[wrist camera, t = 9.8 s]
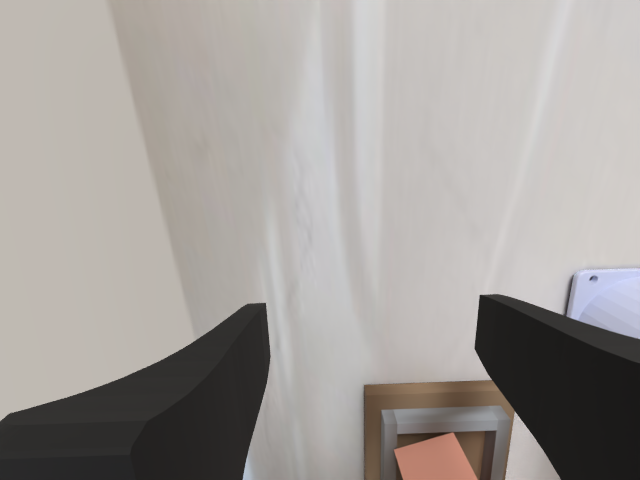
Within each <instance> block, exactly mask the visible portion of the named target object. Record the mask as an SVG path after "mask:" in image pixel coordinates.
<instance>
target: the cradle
mask: <svg viewBox="0 0 640 480" xmlns="http://www.w3.org/2000/svg"><path fill="white" fill-rule="evenodd" d="M514 412H515V410H514V409H513V408H512V406H511V405H510V404H509V402H508V401H507V400H506V398H505V397H504V396H503V394H502V393H501V391H500V390H499V389H498V387H497V386H496V385H495V383H494V382H493V380H487V381H460V382H433V383H406V384H379V385H364V439H365V480H403V478H402V475H401V471H400V468H399V465H398V462H397V458H396V455H395V452H394V449H398V448H401V447H404V446H408V445H411V444H415V443H418V442H422V441H425V440H428V439H432V438H435V437H439V436H442V435H445V434H449V433H452V432H453V433H454V435H455V437H456V439H457V440H458V442H459V444H460V446H461V448H462V450H463V452H464V454H465V456H466V458H467V460H468V462H469V464H470V466H471V467H472V469H473V471H474V473H475V475H476V477H477V479H478V480H505V475H506V468H507V461H508V454H509V447H510V440H511V433H512V426H513V419H514Z"/></svg>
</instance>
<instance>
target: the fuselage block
mask: <svg viewBox="0 0 640 480" xmlns="http://www.w3.org/2000/svg"><path fill="white" fill-rule="evenodd" d="M394 452H395V455H396V458H397V462H398V465H399V468H400V471H401V475H402V478H403V480H478V479H477V477H476V475H475V473H474V471H473V469H472V467H471V466H470V464H469V462H468V460H467V458H466V456H465V454H464V452H463V450H462V448H461V446H460V444H459V442H458V440H457V439H456V437H455V435H454V433H453V432H452V433H449V434H445V435H442V436H439V437H435V438H432V439H428V440H425V441H422V442H418V443H415V444H411V445H408V446H404V447H401V448H398V449H394Z"/></svg>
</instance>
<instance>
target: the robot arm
mask: <svg viewBox="0 0 640 480" xmlns="http://www.w3.org/2000/svg"><path fill="white" fill-rule="evenodd" d="M592 276H593V278H592V279H591V280H589V279H590V277H592ZM475 350H476V352H477V354H478V356H479V358H480V360H481V362H482V364H483V366H484V368H485V369H486V371H487V373H488V375H489V376H490V378H491V379H492V380H493V382H494V383H495V385H496V386H497V387H498V389H499V390H500V391H501V393H502V394H503V396H504V397H505V398H506V400H507V401H508V402H509V404H510V405H511V406H512V408H513V409H514V410H515V412H516V413H517V414H518V416H519V417H520V419H521V420H522V421H523V423H524V424H525V425H526V427H527V428H528V429H529V431H530V432H531V433H532V435H533V436H534V437H535V439H536V440H537V442H538V443H539V445H540V446H541V448H542V449H543V451H544V452H545V454H546V455H547V457H548V459H549V460H550V462H551V464H552V465H553V467H554V469H555V470H556V472H557V474H558V475H559V477H560V478H561V480H640V268H625V269H598V270H581V271H578V272H577V273H576V274H575V275H574V277H573V282H572V288H571V293H570V299H569V305H568V310H567V316H563V315H560V314H558V313H555V312H552V311H549V310H546V309H544V308H541V307H538V306H535V305H532V304H530V303H527V302H524V301H521V300H518V299H515V298H511V297H508V296H504V295H499V294H494V295H480V299H479V309H478V319H477V330H476V340H475ZM269 364H270V345H269V334H268V322H267V311H266V303H255V304H247V305H245V306H243V307H242V308H240V309H239V310H238V311H236V312H235V313H234V314H232V315H231V316H230V317H228V318H227V319H226V320H224V321H223V322H222V323H220V324H219V325H218V326H216V327H215V328H214V329H212V330H211V331H209V332H208V333H206V334H205V335H203V336H202V337H200V338H199V339H197V340H196V341H194V342H193V343H191V344H190V345H188V346H186V347H185V348H183V349H181V350H179V351H178V352H176V353H174V354H172V355H170V356H168V357H167V358H165V359H163V360H161V361H159V362H157V363H155V364H152V365H151V366H148V367H146V368H143V369H142V370H139V371H137V372H135V373H132V374H130V375H128V376H126V377H124V378H121V379H118V380H116V381H113V382H110V383H108V384H105V385H103V386H100V387H97V388H94V389H91V390H88V391H85V392H83V393H79V394H77V395H73V396H70V397H67V398H64V399H60V400H57V401H53V402H50V403H46V404H43V405H39V406H36V407H32V408H29V409H25V410H21V411H18V412H14V413H10V414H9V415H7V416H6V417H5V418H4V419H2V420H1V421H0V480H242V479H243V473H244V468H245V462H246V458H247V454H248V450H249V446H250V442H251V438H252V435H253V431H254V428H255V424H256V421H257V417H258V413H259V410H260V406H261V403H262V399H263V395H264V392H265V388H266V384H267V378H268V372H269Z"/></svg>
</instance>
